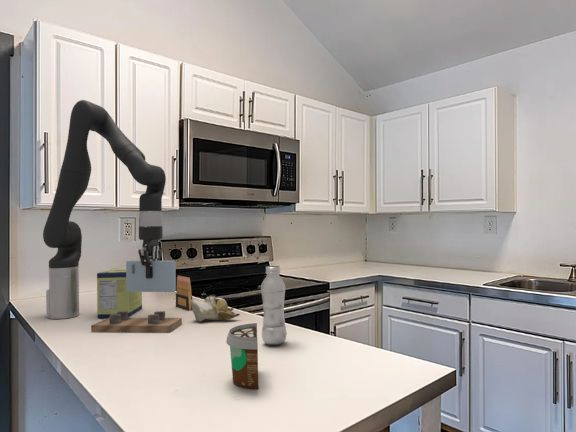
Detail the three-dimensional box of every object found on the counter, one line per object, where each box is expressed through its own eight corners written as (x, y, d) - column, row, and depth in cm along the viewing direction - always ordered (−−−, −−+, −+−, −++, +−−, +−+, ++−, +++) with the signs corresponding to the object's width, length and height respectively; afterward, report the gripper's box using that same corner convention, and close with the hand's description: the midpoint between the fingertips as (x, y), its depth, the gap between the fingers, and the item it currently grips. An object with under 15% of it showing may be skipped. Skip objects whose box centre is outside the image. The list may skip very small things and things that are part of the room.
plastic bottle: (290, 341, 109) (288, 265, 110) (281, 348, 103) (280, 268, 103) (267, 339, 112) (266, 264, 112) (257, 346, 105) (256, 267, 105)
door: (125, 292, 136) (125, 261, 136) (129, 290, 139) (129, 260, 139) (172, 292, 134) (172, 261, 135) (175, 291, 137) (175, 260, 137)
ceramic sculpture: (189, 292, 138) (233, 291, 143) (188, 318, 138) (232, 316, 143) (193, 297, 128) (241, 296, 133) (192, 325, 128) (239, 323, 133)
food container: (228, 370, 89) (227, 323, 89) (257, 369, 89) (256, 322, 89) (224, 394, 76) (223, 339, 76) (258, 392, 77) (257, 338, 77)
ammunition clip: (192, 310, 152) (192, 277, 152) (188, 311, 150) (187, 277, 151) (180, 306, 160) (179, 274, 160) (175, 306, 159) (175, 275, 159)
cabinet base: (91, 332, 123) (91, 316, 123) (109, 323, 133) (109, 309, 133) (169, 332, 120) (169, 317, 121) (181, 324, 130) (181, 309, 130)
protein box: (142, 308, 156) (142, 267, 156) (127, 318, 141) (127, 272, 141) (114, 309, 156) (114, 267, 156) (96, 319, 140) (96, 272, 140)
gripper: (148, 225, 144) (149, 275, 144) (129, 225, 131) (129, 280, 130) (169, 224, 144) (169, 275, 143) (152, 225, 130) (152, 280, 130)
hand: (150, 277), depth 137 cm, fingers closed on door, 2 cm apart
